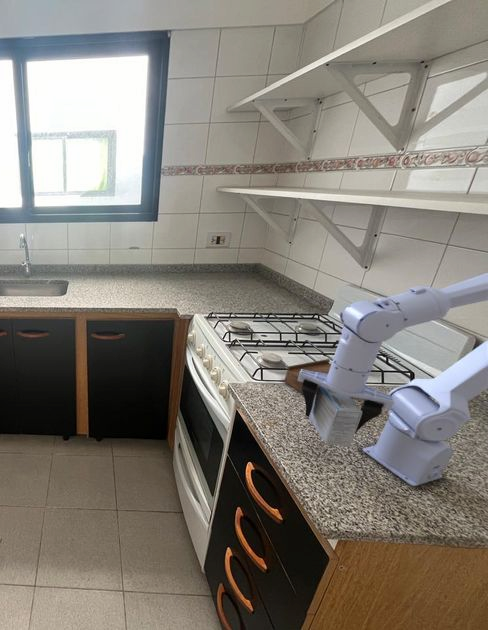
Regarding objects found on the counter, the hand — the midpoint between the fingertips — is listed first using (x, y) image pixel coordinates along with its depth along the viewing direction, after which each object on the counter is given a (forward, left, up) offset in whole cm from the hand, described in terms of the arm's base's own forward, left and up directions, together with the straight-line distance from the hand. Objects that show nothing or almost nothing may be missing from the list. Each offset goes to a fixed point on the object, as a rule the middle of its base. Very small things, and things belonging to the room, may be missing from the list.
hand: (330, 421), depth 70 cm
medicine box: (0, 0, -3) cm, 3 cm away
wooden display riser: (+18, -21, -8) cm, 28 cm away
